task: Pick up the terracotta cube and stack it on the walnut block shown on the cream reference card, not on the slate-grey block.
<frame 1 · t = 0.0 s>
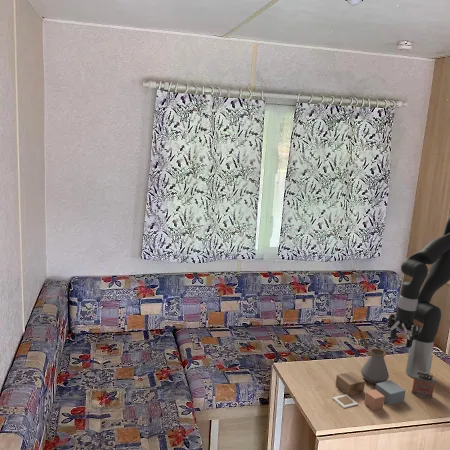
hand: (400, 342, 207), 17 cm above the table, tool pointing down, fingers open, 8 cm apart
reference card: (345, 401, 192), on the table
terracotta cube: (373, 405, 190), on the table
coffee pot: (367, 373, 214), on the table
walnut block: (349, 389, 201), on the table
lighter: (421, 395, 201), on the table
slate block: (388, 398, 197), on the table
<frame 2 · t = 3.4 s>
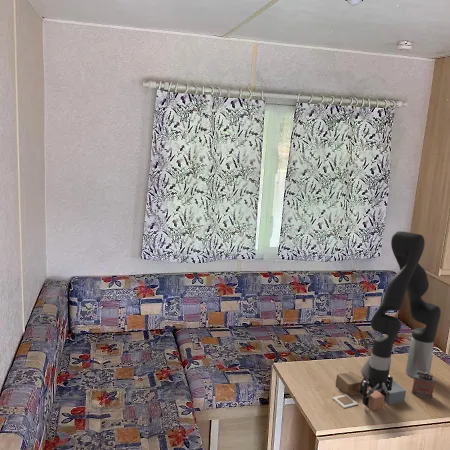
hand: (373, 402, 190), 1 cm above the table, tool pointing down, fingers open, 8 cm apart
slate block: (389, 397, 197), on the table, touching gripper
everything else where it was.
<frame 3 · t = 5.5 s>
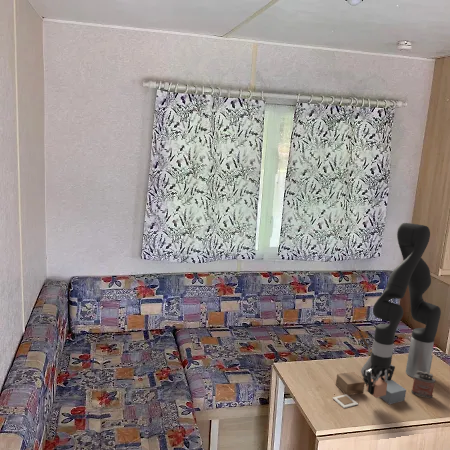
hand: (376, 391, 189), 6 cm above the table, tool pointing down, fingers closed on terracotta cube, 5 cm apart
terracotta cube: (376, 392, 189), point 5 cm above the table, touching gripper
slate block: (389, 397, 197), on the table
everything else where it was.
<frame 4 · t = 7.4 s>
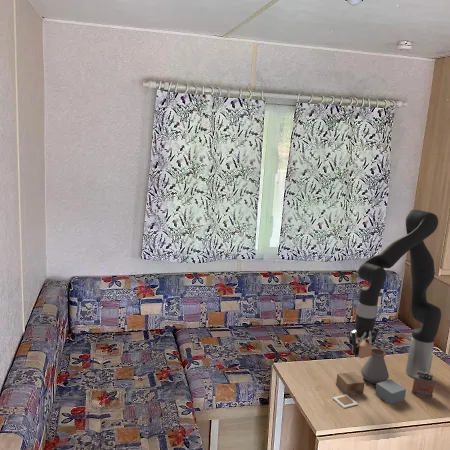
hand: (360, 353, 195), 17 cm above the table, tool pointing down, fingers closed on terracotta cube, 5 cm apart
terracotta cube: (360, 354, 195), point 17 cm above the table, touching gripper
everything else where it was.
when the fingers open (7 cm above the table, at t = 10.5 s): terracotta cube drops 2 cm, resting on walnut block.
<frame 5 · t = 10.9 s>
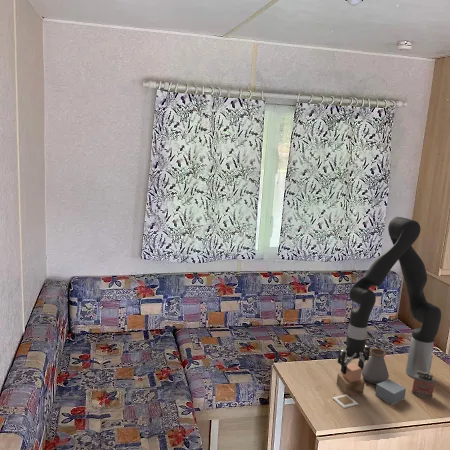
hand: (351, 371, 200), 8 cm above the table, tool pointing down, fingers open, 8 cm apart
terracotta cube: (351, 377, 200), point 5 cm above the table, touching walnut block
walnut block: (349, 389, 201), on the table, touching terracotta cube
everything else where it was.
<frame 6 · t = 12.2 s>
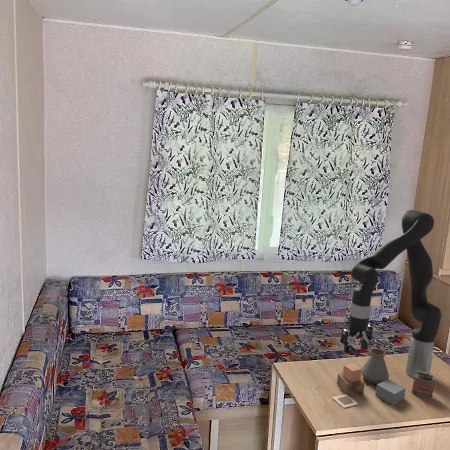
hand: (354, 351, 198), 17 cm above the table, tool pointing down, fingers open, 8 cm apart
terracotta cube: (351, 378, 200), point 5 cm above the table
walnut block: (349, 389, 201), on the table
everything else where it was.
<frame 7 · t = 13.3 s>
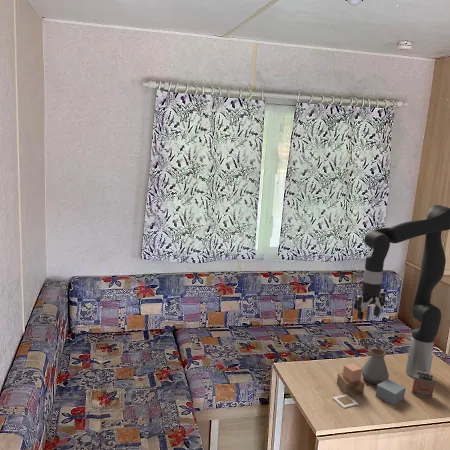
hand: (368, 317, 202), 29 cm above the table, tool pointing down, fingers open, 8 cm apart
terracotta cube: (351, 378, 200), point 5 cm above the table, touching walnut block
walnut block: (349, 389, 201), on the table, touching terracotta cube
everything else where it was.
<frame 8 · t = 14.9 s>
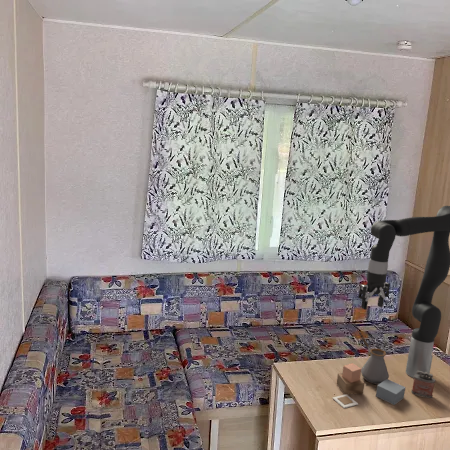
hand: (372, 307, 203), 32 cm above the table, tool pointing down, fingers open, 8 cm apart
nothing on the table moved.
at the end: terracotta cube 0.2 cm off-centre on the walnut block, point 5.0 cm above the walnut block's base; terracotta cube tilted 0°; the gripper is holding nothing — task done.
